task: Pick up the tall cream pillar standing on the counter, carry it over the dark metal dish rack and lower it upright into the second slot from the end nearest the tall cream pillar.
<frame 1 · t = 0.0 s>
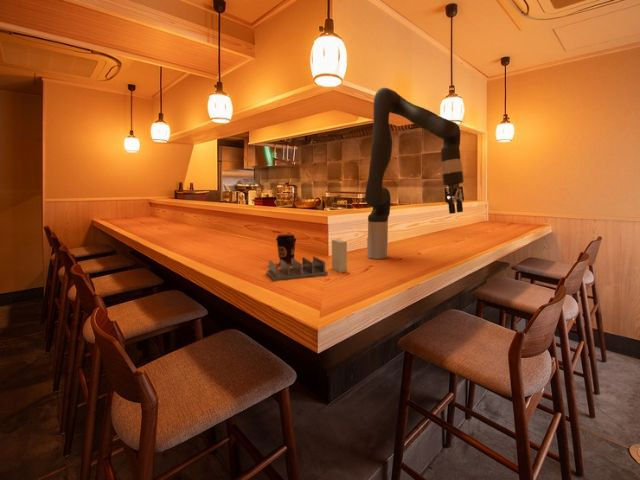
hand: (456, 212, 135), 22 cm above the counter, tool pointing down, fingers open, 8 cm apart
coffee cup: (286, 264, 149), on the counter
dish rack: (296, 274, 131), on the counter
tall cream pillar: (339, 269, 137), on the counter
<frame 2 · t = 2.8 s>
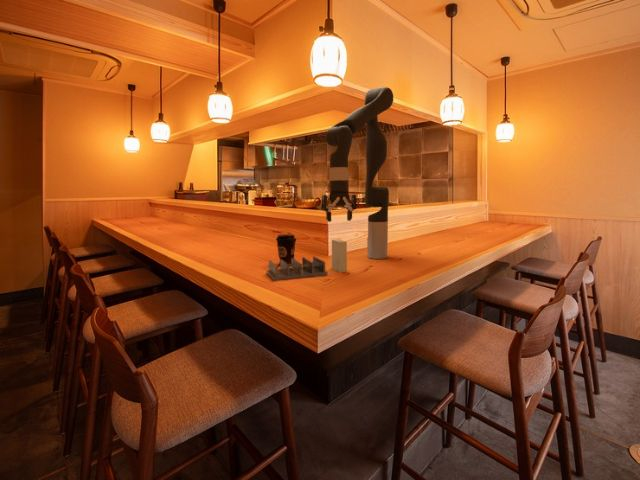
hand: (339, 221, 134), 20 cm above the counter, tool pointing down, fingers open, 8 cm apart
nothing on the counter moved.
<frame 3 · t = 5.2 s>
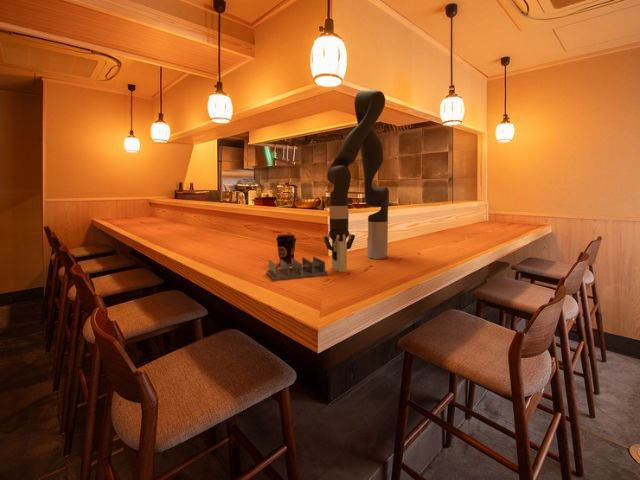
hand: (339, 259, 136), 4 cm above the counter, tool pointing down, fingers closed on tall cream pillar, 3 cm apart
tall cream pillar: (339, 269, 137), on the counter, touching gripper
everything else where it was.
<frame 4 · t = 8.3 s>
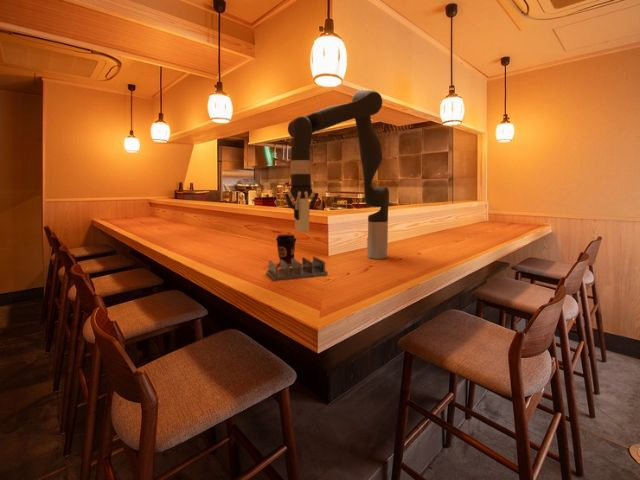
hand: (301, 219, 128), 21 cm above the counter, tool pointing down, fingers closed on tall cream pillar, 3 cm apart
tall cream pillar: (302, 230, 129), point 17 cm above the counter, touching gripper
everything else where it was.
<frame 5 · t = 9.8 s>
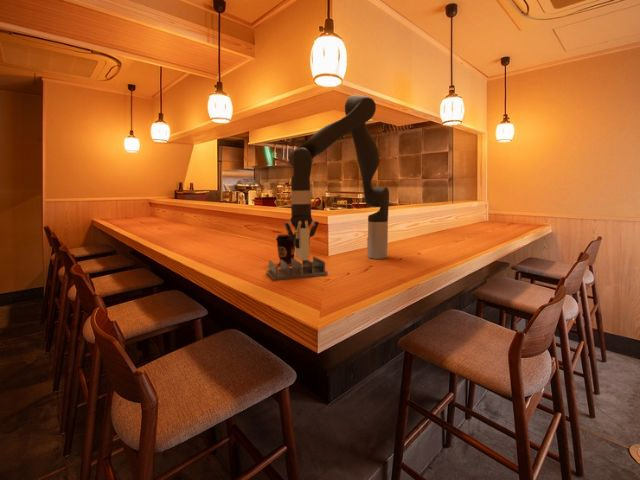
hand: (302, 247, 130), 10 cm above the counter, tool pointing down, fingers closed on tall cream pillar, 3 cm apart
tall cream pillar: (302, 258, 131), point 6 cm above the counter, touching gripper
everything else where it was.
when the fingers open (7 cm above the counter, at t = 11.2 s): tall cream pillar drops 1 cm, resting on dish rack.
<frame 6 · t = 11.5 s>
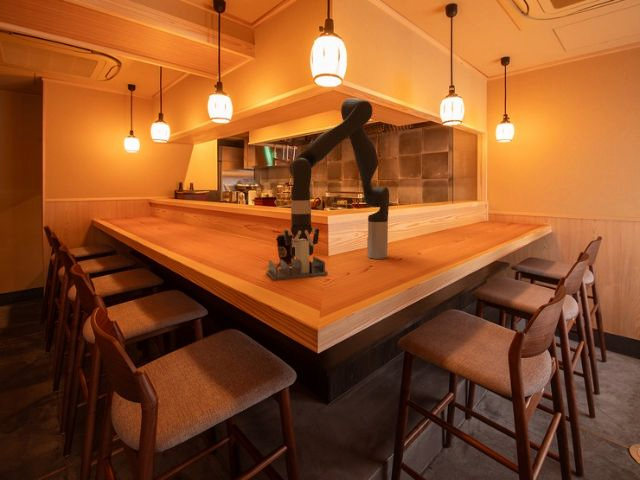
hand: (302, 255, 131), 7 cm above the counter, tool pointing down, fingers open, 6 cm apart
tall cream pillar: (302, 270, 131), point 1 cm above the counter, touching dish rack
everything else where it was.
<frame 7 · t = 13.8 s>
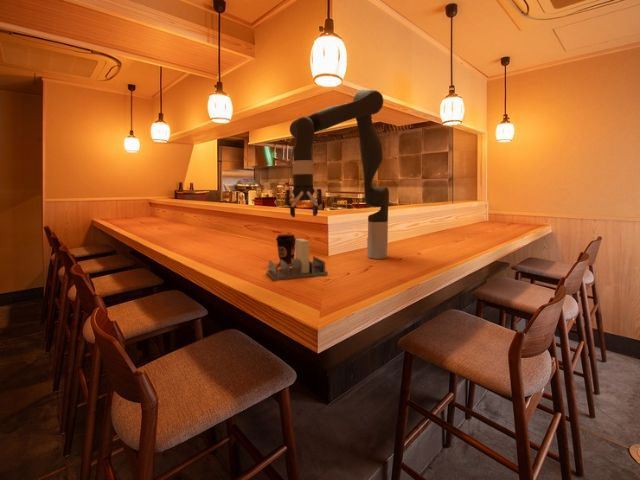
hand: (304, 216, 130), 22 cm above the counter, tool pointing down, fingers open, 8 cm apart
nothing on the counter moved.
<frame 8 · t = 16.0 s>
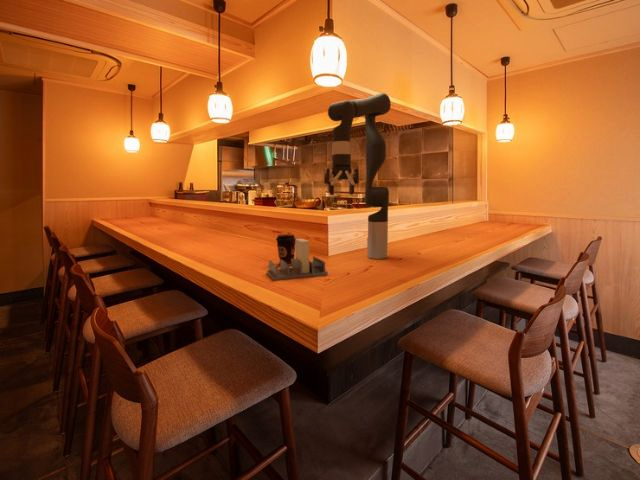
hand: (341, 194, 137), 30 cm above the counter, tool pointing down, fingers open, 8 cm apart
nothing on the counter moved.
at the end: tall cream pillar 0.1 cm from the target spot on the dish rack, point 1.2 cm above the dish rack's base; tall cream pillar tilted 0°; the gripper is holding nothing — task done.
